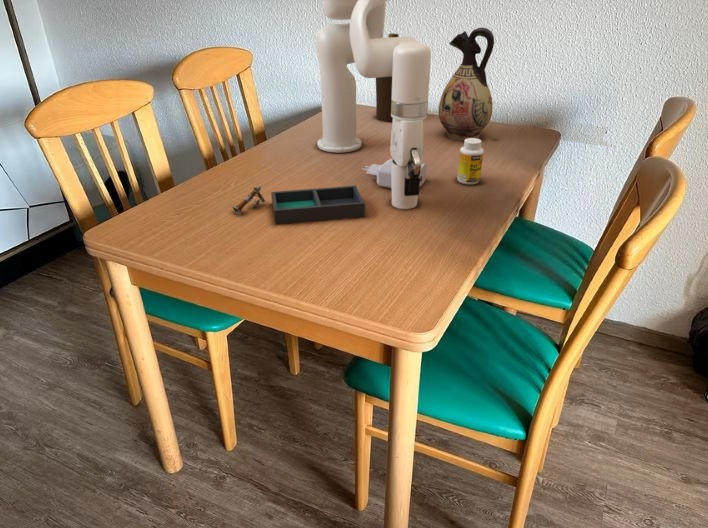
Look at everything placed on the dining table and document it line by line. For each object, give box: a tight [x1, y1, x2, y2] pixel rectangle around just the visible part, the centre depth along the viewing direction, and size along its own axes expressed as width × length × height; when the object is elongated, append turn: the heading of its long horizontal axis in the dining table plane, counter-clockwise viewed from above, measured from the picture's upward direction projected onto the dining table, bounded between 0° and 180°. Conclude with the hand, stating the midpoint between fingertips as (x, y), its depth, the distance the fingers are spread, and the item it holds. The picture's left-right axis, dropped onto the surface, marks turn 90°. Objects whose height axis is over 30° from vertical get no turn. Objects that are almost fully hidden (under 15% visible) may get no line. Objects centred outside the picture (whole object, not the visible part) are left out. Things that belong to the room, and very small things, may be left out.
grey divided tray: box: [270, 185, 366, 225], centre depth 127 cm, size 10×19×3 cm, turn 100°
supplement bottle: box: [456, 138, 485, 186], centre depth 139 cm, size 6×6×10 cm
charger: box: [361, 158, 428, 189], centre depth 140 cm, size 5×9×15 cm
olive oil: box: [375, 32, 400, 123], centre depth 180 cm, size 11×11×25 cm
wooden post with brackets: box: [231, 185, 266, 215], centre depth 128 cm, size 2×8×4 cm, turn 136°
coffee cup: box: [391, 158, 421, 210], centre depth 128 cm, size 7×7×10 cm
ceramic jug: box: [438, 27, 495, 141], centre depth 162 cm, size 17×15×30 cm
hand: (405, 186), depth 128 cm, fingers open, 9 cm apart
